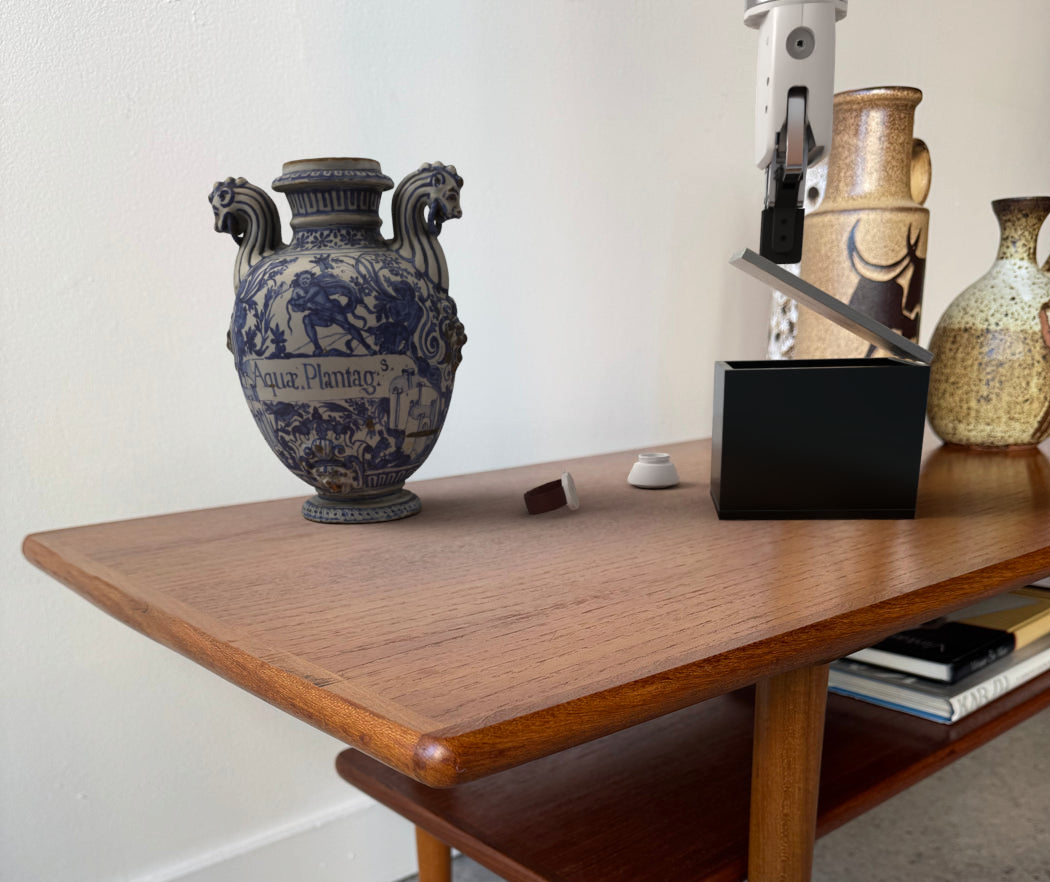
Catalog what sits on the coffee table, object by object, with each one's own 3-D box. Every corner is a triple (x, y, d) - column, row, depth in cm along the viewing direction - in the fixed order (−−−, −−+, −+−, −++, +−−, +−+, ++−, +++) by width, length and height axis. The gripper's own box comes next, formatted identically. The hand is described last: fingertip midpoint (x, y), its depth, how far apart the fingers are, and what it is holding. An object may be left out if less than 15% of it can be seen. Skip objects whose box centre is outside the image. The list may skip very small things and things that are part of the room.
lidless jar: (640, 480, 105) (619, 488, 101) (641, 450, 104) (619, 457, 100) (687, 483, 103) (667, 491, 99) (687, 452, 102) (667, 459, 98)
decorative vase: (203, 534, 86) (150, 154, 76) (286, 494, 103) (251, 180, 93) (455, 535, 83) (435, 139, 73) (497, 494, 100) (485, 168, 90)
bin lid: (740, 257, 78) (746, 247, 78) (728, 262, 90) (733, 253, 90) (928, 364, 80) (935, 354, 79) (892, 355, 91) (897, 347, 91)
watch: (570, 520, 87) (569, 476, 86) (515, 519, 88) (514, 476, 87) (584, 503, 94) (584, 463, 93) (533, 503, 95) (532, 462, 94)
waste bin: (718, 520, 86) (724, 370, 81) (709, 493, 97) (714, 360, 93) (914, 518, 84) (931, 365, 80) (881, 491, 96) (894, 356, 91)
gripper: (868, -36, 70) (843, 259, 77) (831, 19, 84) (813, 265, 91) (754, -30, 71) (740, 262, 77) (736, 23, 85) (725, 267, 91)
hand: (779, 263), depth 84 cm, fingers closed
